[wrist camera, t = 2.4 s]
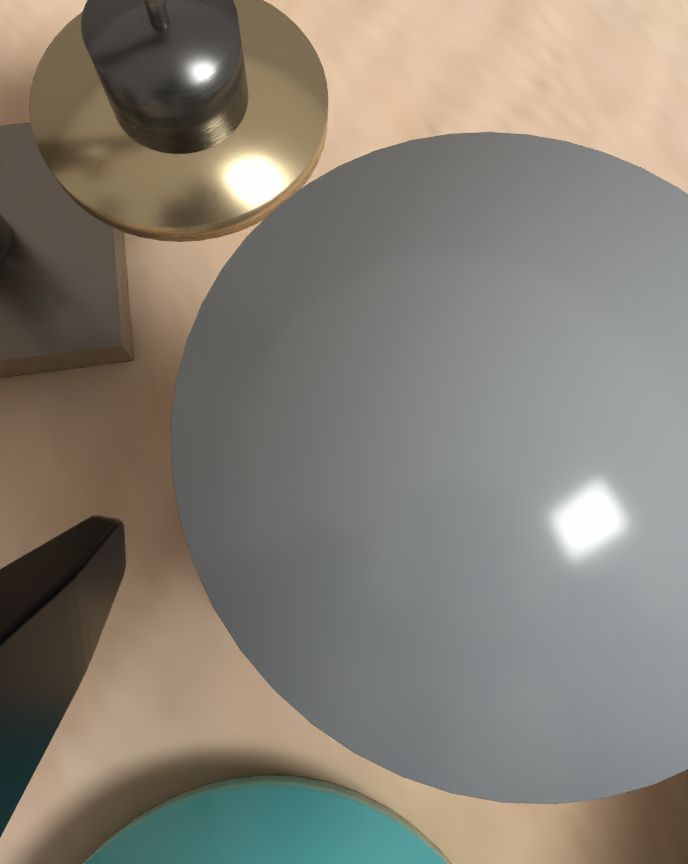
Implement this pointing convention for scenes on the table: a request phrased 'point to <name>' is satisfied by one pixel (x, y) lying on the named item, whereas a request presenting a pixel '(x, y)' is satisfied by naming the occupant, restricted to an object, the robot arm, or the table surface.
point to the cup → (456, 463)
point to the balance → (144, 159)
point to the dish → (269, 828)
